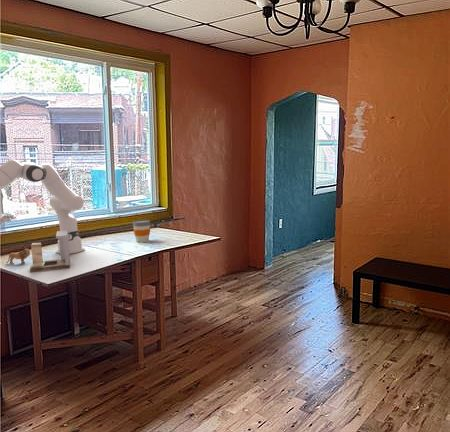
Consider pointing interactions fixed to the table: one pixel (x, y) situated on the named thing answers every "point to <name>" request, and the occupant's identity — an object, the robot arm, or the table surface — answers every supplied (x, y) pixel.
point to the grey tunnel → (63, 245)
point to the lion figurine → (19, 256)
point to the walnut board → (51, 265)
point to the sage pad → (37, 265)
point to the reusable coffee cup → (141, 230)
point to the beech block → (37, 253)
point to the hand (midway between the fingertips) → (12, 218)
